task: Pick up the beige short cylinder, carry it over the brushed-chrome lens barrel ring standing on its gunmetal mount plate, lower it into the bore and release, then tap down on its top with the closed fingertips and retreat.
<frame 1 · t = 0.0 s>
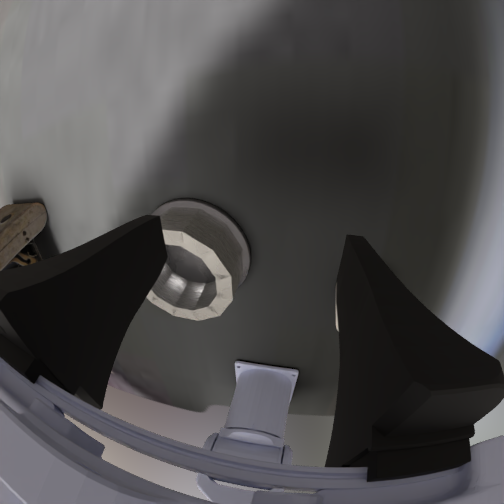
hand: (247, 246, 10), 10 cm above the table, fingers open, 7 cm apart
vintage camera: (45, 247, 30), on the table
lens barrel: (195, 250, 24), on the table
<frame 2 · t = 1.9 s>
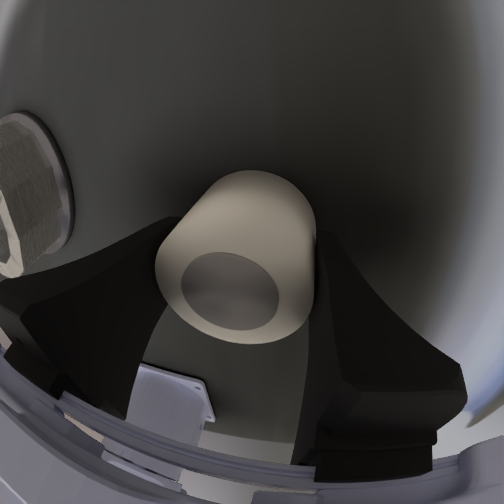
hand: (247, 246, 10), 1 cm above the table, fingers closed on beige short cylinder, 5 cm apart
beige short cylinder: (255, 227, 12), on the table, touching gripper
lens barrel: (26, 184, 13), on the table
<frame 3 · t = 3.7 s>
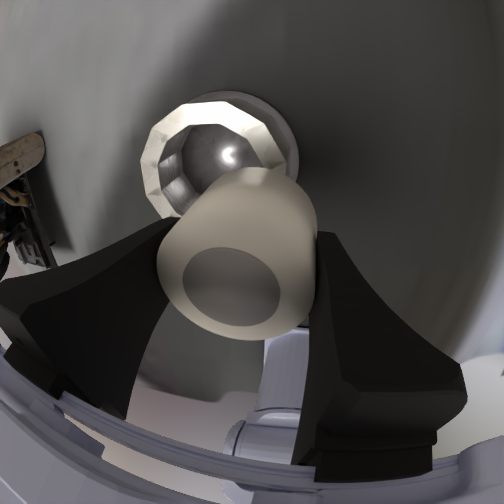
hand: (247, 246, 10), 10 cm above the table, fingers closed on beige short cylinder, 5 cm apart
vintage camera: (39, 195, 25), on the table
beige short cylinder: (256, 224, 12), point 8 cm above the table, touching gripper
lens barrel: (227, 159, 19), on the table
when the fingers open (5 cm above the table, at t = 5.5 s): beige short cylinder drops 2 cm, resting on lens barrel.
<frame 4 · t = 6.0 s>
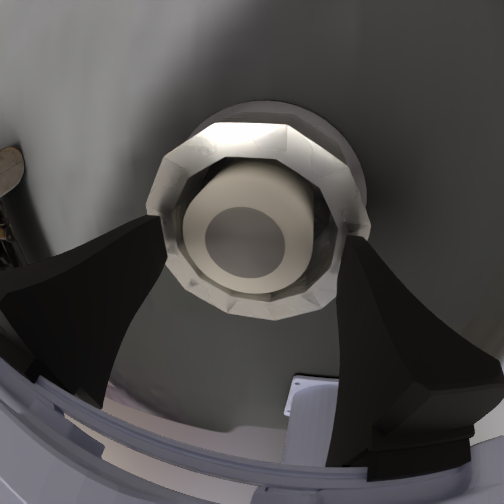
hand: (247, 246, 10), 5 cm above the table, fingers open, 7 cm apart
vintage camera: (22, 219, 20), on the table
beige short cylinder: (263, 199, 14), point 1 cm above the table, touching lens barrel
lens barrel: (267, 197, 14), on the table
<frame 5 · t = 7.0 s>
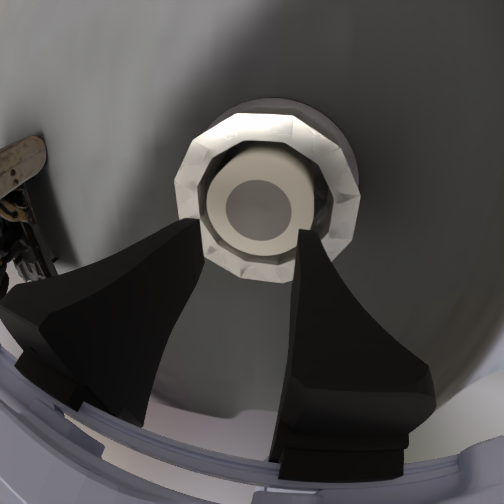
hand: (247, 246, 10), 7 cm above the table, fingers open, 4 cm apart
vintage camera: (40, 206, 22), on the table
beige short cylinder: (271, 180, 16), point 1 cm above the table, touching lens barrel
lens barrel: (274, 179, 16), on the table
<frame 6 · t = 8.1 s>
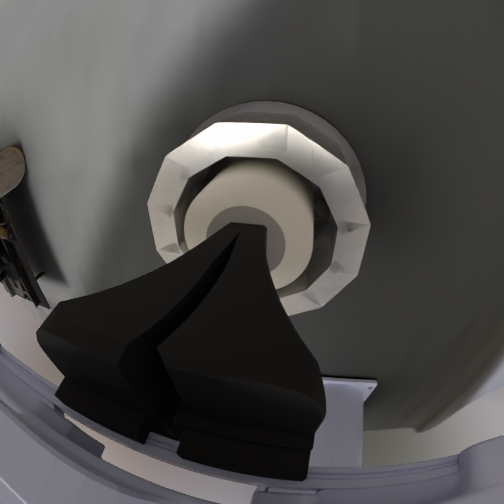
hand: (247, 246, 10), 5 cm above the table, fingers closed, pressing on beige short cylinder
vintage camera: (23, 218, 20), on the table
beige short cylinder: (263, 199, 14), point 1 cm above the table, touching gripper, lens barrel
lens barrel: (267, 196, 14), on the table
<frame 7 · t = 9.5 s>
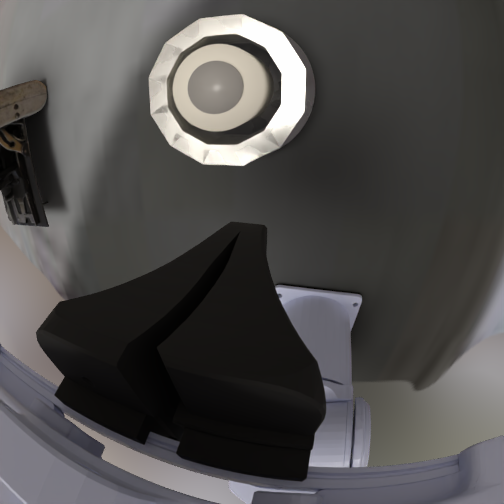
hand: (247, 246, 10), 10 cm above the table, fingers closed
vintage camera: (36, 150, 22), on the table
beige short cylinder: (235, 86, 16), point 1 cm above the table, touching lens barrel
lens barrel: (239, 88, 16), on the table
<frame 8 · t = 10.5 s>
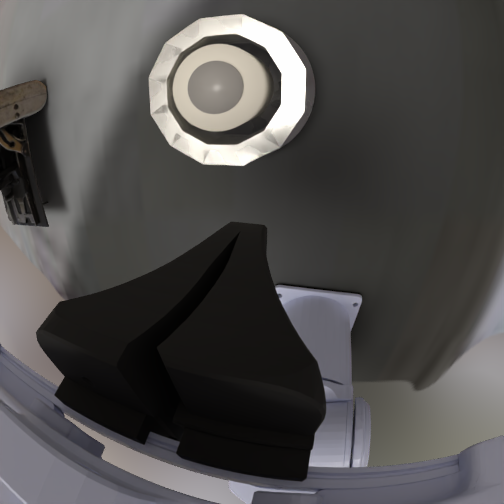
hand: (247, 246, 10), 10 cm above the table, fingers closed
vintage camera: (36, 150, 22), on the table
beige short cylinder: (235, 86, 16), point 1 cm above the table, touching lens barrel
lens barrel: (239, 88, 16), on the table
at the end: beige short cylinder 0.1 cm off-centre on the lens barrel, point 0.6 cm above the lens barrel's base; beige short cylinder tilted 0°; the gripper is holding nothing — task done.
